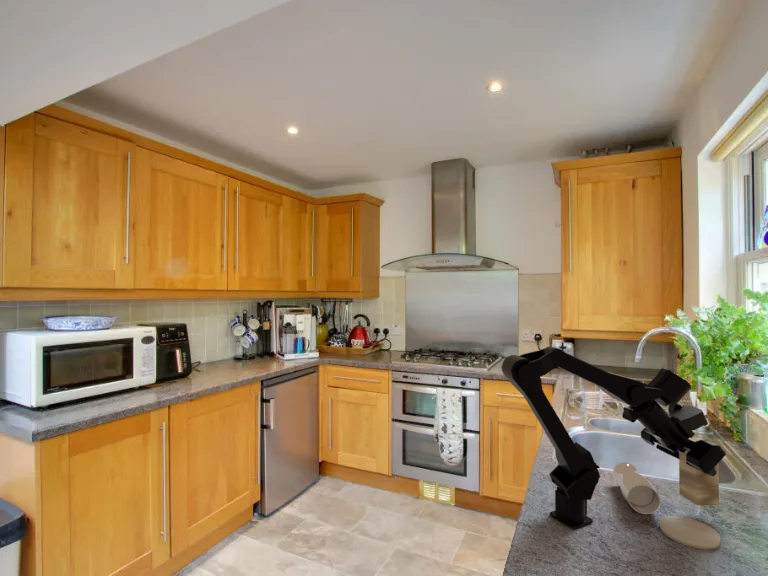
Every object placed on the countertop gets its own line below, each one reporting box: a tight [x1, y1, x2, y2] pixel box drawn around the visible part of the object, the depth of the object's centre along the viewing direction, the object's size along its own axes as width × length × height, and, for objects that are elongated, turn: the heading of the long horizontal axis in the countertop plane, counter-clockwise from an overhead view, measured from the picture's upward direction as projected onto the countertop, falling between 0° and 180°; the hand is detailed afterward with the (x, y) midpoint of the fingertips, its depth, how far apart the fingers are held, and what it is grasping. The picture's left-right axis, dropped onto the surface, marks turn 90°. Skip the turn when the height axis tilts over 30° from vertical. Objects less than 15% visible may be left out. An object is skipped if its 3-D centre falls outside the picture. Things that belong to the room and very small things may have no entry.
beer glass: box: [612, 462, 662, 516], centre depth 99 cm, size 7×7×15 cm
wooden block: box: [678, 437, 720, 506], centre depth 92 cm, size 5×5×13 cm
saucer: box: [659, 515, 721, 551], centre depth 84 cm, size 10×10×1 cm
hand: (704, 469), depth 92 cm, fingers closed on wooden block, 5 cm apart
